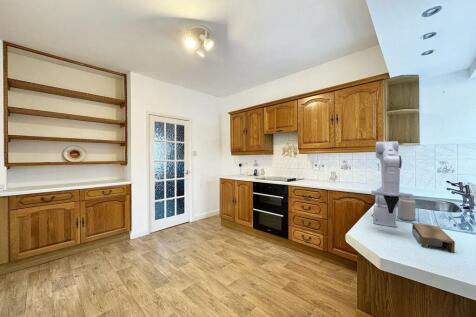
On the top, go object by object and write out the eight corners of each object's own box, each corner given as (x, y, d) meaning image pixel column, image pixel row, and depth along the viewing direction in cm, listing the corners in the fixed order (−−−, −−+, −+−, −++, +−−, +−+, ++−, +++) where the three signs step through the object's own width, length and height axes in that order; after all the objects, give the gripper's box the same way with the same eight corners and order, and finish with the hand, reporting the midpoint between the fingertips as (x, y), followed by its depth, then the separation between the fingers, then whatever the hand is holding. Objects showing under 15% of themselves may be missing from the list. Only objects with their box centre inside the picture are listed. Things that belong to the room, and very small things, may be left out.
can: (416, 222, 106) (417, 199, 106) (398, 219, 110) (399, 197, 110) (413, 218, 112) (414, 197, 112) (396, 216, 116) (397, 195, 116)
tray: (418, 243, 81) (418, 236, 81) (412, 234, 90) (413, 228, 90) (442, 247, 78) (442, 240, 78) (434, 238, 86) (434, 232, 86)
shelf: (422, 247, 78) (422, 236, 78) (412, 231, 93) (412, 222, 93) (454, 253, 73) (454, 241, 73) (438, 236, 88) (438, 226, 88)
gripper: (372, 182, 91) (371, 212, 91) (414, 185, 83) (413, 217, 83) (371, 180, 97) (370, 208, 97) (411, 183, 89) (410, 213, 89)
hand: (390, 212), depth 91 cm, fingers closed
